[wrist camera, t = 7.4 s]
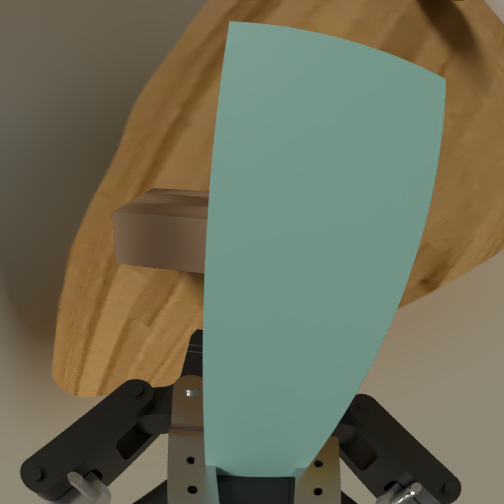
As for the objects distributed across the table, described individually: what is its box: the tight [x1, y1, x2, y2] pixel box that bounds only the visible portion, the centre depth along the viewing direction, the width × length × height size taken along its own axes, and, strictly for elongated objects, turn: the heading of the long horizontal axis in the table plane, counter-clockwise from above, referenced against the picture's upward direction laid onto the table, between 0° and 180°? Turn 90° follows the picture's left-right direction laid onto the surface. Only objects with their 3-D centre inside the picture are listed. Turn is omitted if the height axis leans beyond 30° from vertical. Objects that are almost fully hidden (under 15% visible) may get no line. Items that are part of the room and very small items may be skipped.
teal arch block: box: [203, 22, 446, 477], centre depth 9 cm, size 12×3×9 cm, turn 174°
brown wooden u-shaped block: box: [113, 188, 209, 274], centre depth 15 cm, size 14×3×6 cm, turn 84°
